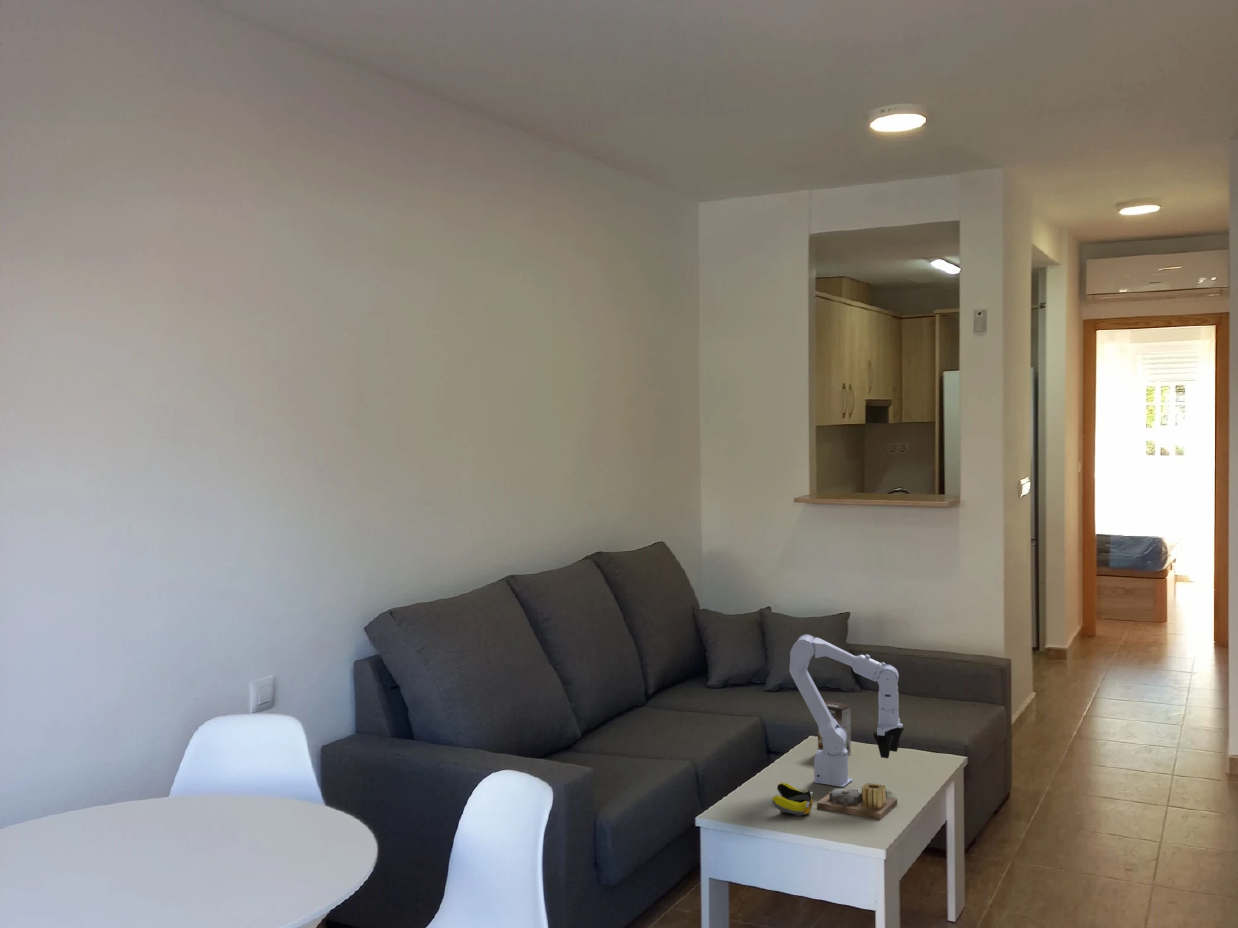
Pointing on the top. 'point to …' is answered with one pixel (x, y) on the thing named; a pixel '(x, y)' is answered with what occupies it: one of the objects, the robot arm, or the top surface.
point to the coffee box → (839, 722)
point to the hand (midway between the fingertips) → (889, 754)
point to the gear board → (853, 804)
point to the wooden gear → (873, 795)
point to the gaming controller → (792, 800)
